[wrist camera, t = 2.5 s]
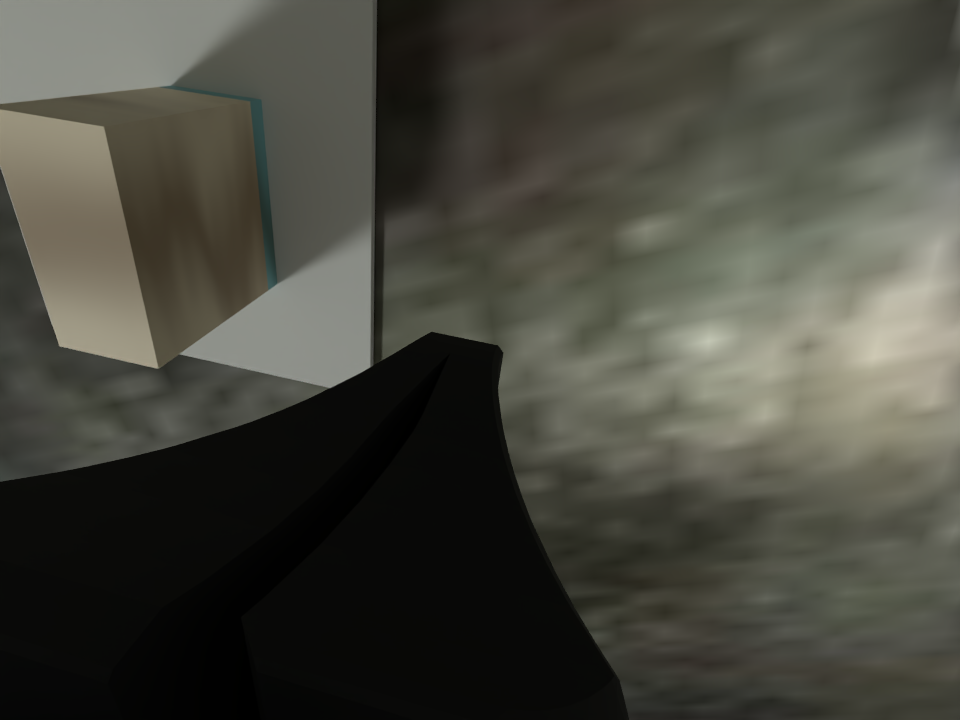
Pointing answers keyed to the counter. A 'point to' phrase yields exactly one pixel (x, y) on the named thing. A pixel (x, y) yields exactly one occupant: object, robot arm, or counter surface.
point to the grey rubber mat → (288, 140)
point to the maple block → (141, 214)
